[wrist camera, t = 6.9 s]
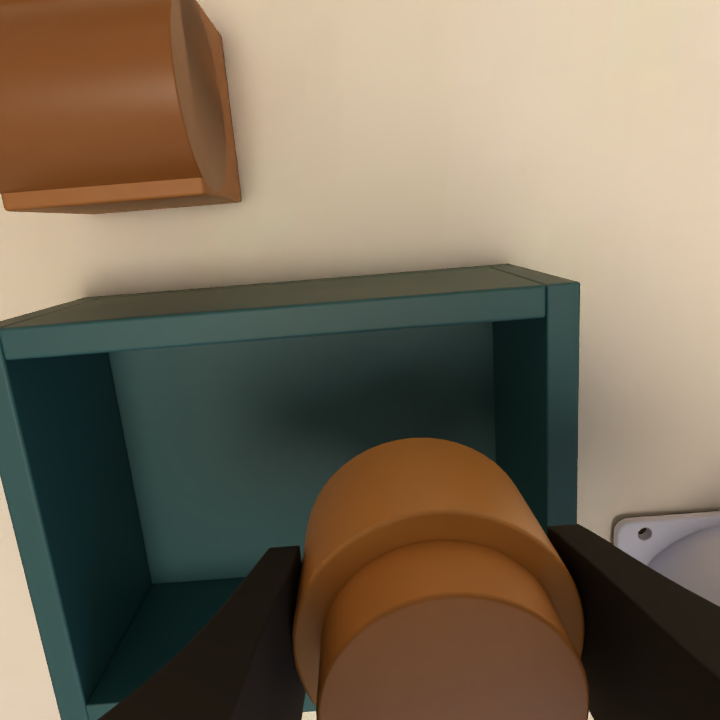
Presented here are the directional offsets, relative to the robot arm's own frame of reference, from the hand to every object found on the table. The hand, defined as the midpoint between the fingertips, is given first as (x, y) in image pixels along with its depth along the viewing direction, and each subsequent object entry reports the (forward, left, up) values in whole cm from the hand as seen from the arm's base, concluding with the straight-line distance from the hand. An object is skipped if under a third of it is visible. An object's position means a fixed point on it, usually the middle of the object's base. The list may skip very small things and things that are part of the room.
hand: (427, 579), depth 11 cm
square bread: (+7, -10, -9) cm, 16 cm away
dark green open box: (+3, +1, -9) cm, 10 cm away
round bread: (0, 0, -1) cm, 1 cm away
